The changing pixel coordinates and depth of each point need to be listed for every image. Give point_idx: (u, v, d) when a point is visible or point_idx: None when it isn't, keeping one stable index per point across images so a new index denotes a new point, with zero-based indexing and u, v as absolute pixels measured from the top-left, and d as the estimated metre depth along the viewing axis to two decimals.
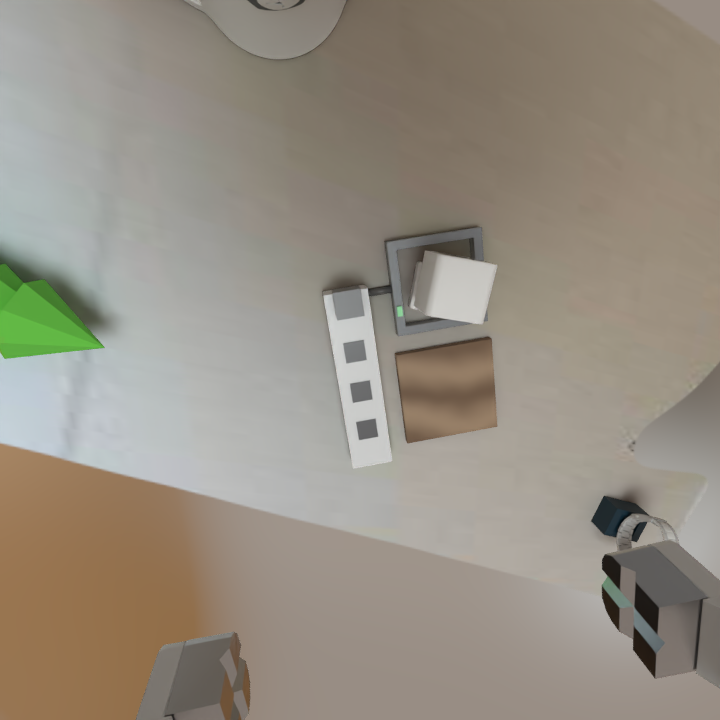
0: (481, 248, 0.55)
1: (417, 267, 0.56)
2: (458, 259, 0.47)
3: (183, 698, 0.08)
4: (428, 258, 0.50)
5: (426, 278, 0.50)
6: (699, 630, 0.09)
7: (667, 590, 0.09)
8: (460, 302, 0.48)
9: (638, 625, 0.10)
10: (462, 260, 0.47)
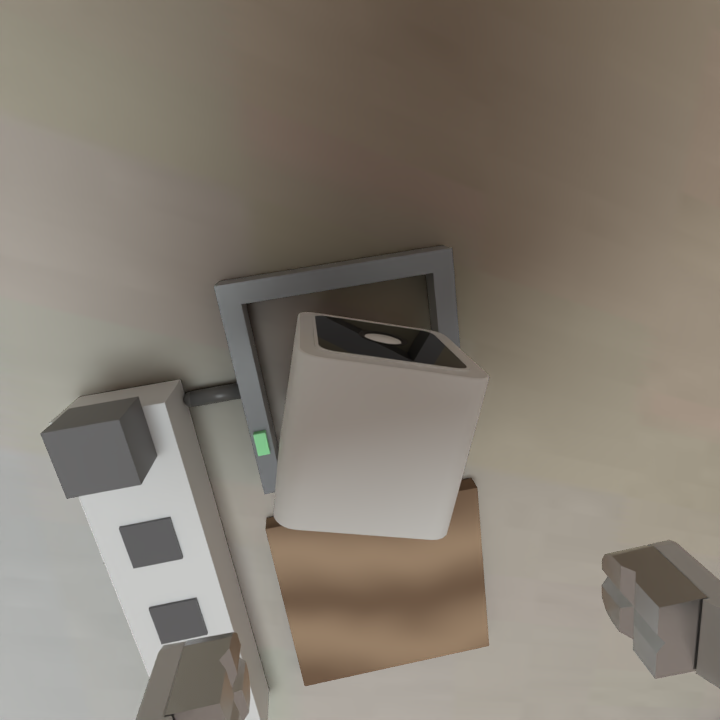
0: (452, 298, 0.23)
1: None
2: (363, 368, 0.14)
3: (183, 698, 0.08)
4: (295, 343, 0.18)
5: (287, 402, 0.17)
6: (700, 630, 0.09)
7: (667, 590, 0.09)
8: (375, 487, 0.16)
9: (638, 625, 0.10)
10: (376, 370, 0.15)
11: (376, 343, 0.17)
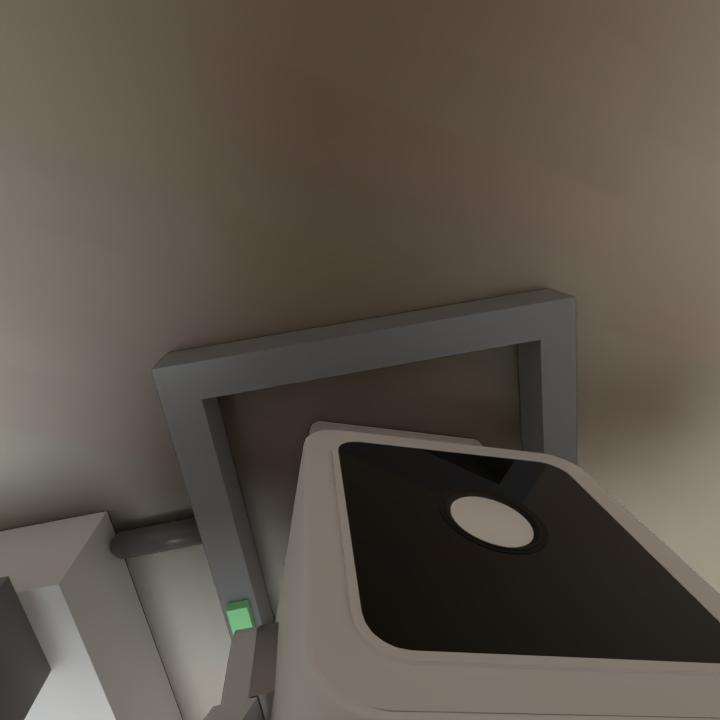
0: (570, 381, 0.13)
1: None
2: None
3: (266, 680, 0.09)
4: (298, 533, 0.08)
5: (280, 673, 0.08)
6: None
7: None
8: None
9: None
10: None
11: (490, 554, 0.07)
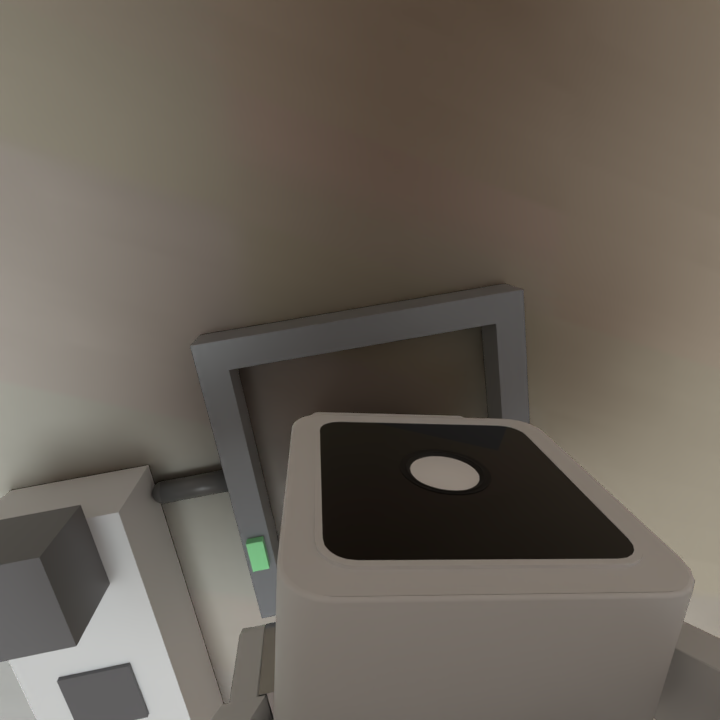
0: (521, 357, 0.17)
1: None
2: (424, 607, 0.06)
3: (274, 678, 0.09)
4: None
5: None
6: None
7: None
8: None
9: None
10: (454, 609, 0.06)
11: (436, 496, 0.09)
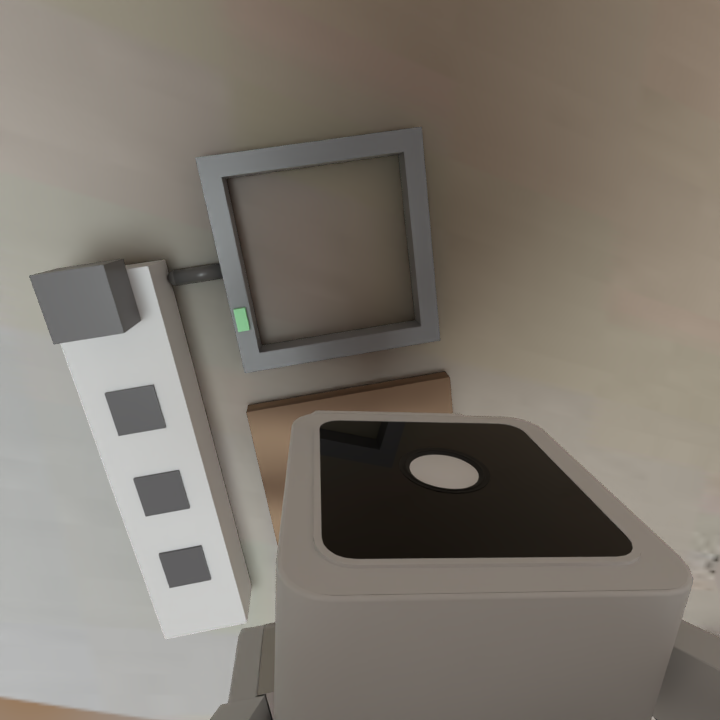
0: (422, 178, 0.24)
1: None
2: (423, 605, 0.06)
3: (273, 678, 0.09)
4: None
5: None
6: None
7: None
8: None
9: None
10: (453, 607, 0.06)
11: (435, 494, 0.09)
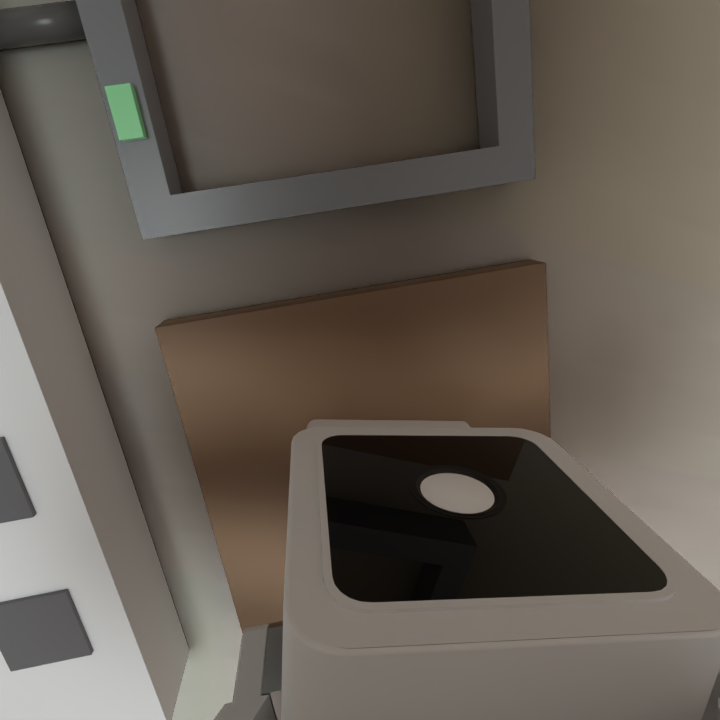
0: None
1: None
2: (448, 657, 0.06)
3: (277, 678, 0.09)
4: None
5: None
6: None
7: None
8: None
9: None
10: (481, 657, 0.06)
11: (451, 521, 0.08)
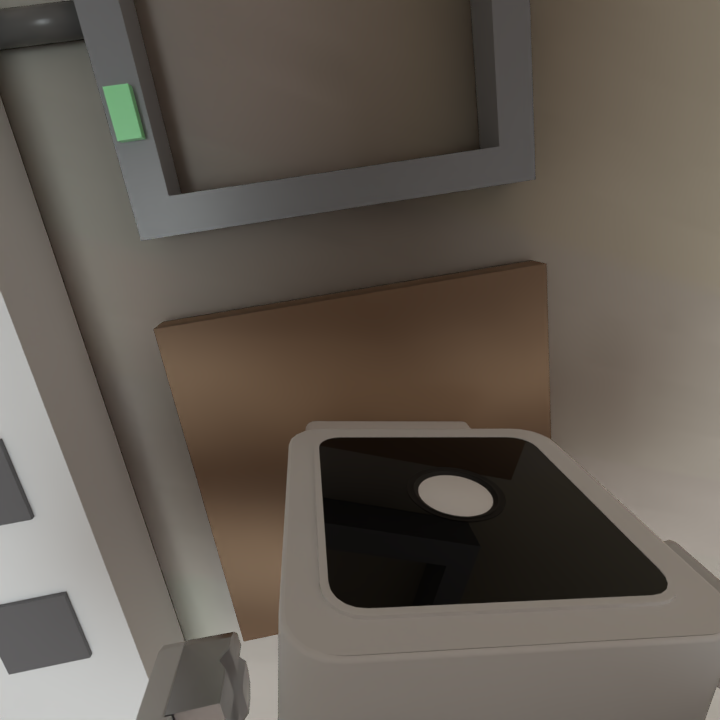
0: None
1: None
2: (445, 664, 0.06)
3: (183, 697, 0.08)
4: None
5: None
6: None
7: None
8: None
9: None
10: (479, 664, 0.06)
11: (449, 524, 0.08)
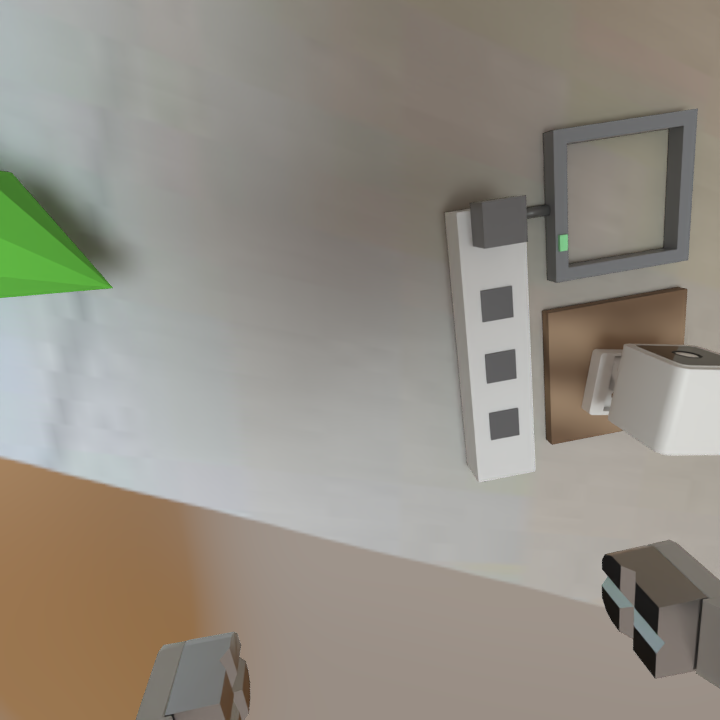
0: (693, 143, 0.36)
1: (597, 359, 0.40)
2: (710, 371, 0.31)
3: (183, 698, 0.08)
4: (641, 362, 0.34)
5: (643, 393, 0.34)
6: (699, 630, 0.09)
7: (667, 590, 0.09)
8: (710, 429, 0.32)
9: (638, 625, 0.10)
10: (716, 372, 0.31)
11: (692, 358, 0.33)
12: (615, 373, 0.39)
